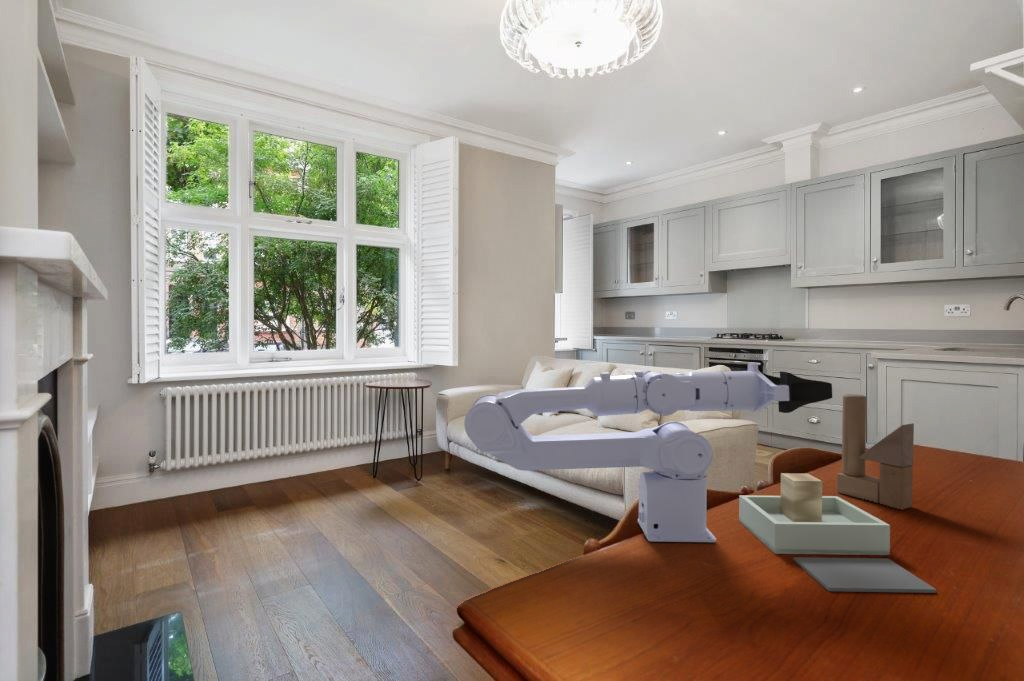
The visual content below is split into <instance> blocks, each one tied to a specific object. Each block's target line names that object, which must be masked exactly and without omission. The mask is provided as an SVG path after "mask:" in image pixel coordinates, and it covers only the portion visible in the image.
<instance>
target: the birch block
mask: <svg viewBox="0 0 1024 681" xmlns="http://www.w3.org/2000/svg"><path fill="white" fill-rule="evenodd" d="M780 496H781V502H780V513H782V514H783V515H785V516H786V517H787V518H789V519H790V520H791V521H793V522H822V496H823V481H822V480H821V479H819V478H817V477H815V476H813V475H812V474H809V473H802V472H801V473H790V472H789V473H788V472H785V473H783V472H781V473H780Z"/></svg>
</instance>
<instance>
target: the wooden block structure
mask: <svg viewBox="0 0 1024 681" xmlns="http://www.w3.org/2000/svg"><path fill="white" fill-rule="evenodd" d="M841 424H842V425H841V426H842V427H841V428H842V431H841V433H842V434H841V436H842V437H841V472H838V473H836V492H837V493H839V494H842V495H846V496H849V497H853V498H857V499H860V498H861V499H860V500H864V499H865V500H864V501H867V500H869V501H868V502H871V501H873V502H872V503H875V502H876V503H875V504H879V503H880V504H879V505H881V504H884V505H888V506H890V507H889V508H892V507H893V509H895V508H897V509H896V510H899V509H901V510H902V511H903V510H905V509H906V510H907V509H909V508H912V507H913V488H914V487H913V482H914V480H913V478H914V477H913V474H914V466H913V465H914V442H915V441H914V437H915V436H914V435H915V434H914V429H915V427H914V426H915V424H914V423H908V424H906V423H905V424H901V425H900V426H899V427H897V428H896V429H894V430H893V431H891V432H890V433H889V434H887V436H885V437H883V438H881V440H880V441H878V442H877V443H875V444H874V445H873V446H871V447H870V448H868V449H867V450H866V448H867V447H866V446H867V445H866V444H867V443H866V441H867V438H866V435H867V434H866V433H867V395H863V394H854V393H853V394H851V393H846V394H843V396H842V423H841ZM866 461H870V462H874V463H879V478H878V477H877V476H876V477H875V476H871V475H867V474H866ZM884 505H883V506H884ZM888 506H887V507H888ZM901 510H900V511H901Z"/></svg>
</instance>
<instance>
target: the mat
mask: <svg viewBox="0 0 1024 681" xmlns="http://www.w3.org/2000/svg"><path fill="white" fill-rule="evenodd" d="M793 562H795V563H796V564H797V565H798V566H800V568H801V569H803V570H804V571H805V572H806V573H808V575H809V576H810V577H812V578H813V579H814V580H815V581H817V582H818V584H820V586H822V587H823V588H824V589H825V590H827V591H828V592H845V593H846V592H847V593H848V592H851V593H854V592H855V593H856V592H857V593H859V592H860V593H864V592H865V593H912V594H913V593H919V594H921V593H924V594H925V593H926V594H929V593H930V594H932V593H933V594H936V593H937V589H936V588H935V587H933V586H932V585H931V584H928V582H925V581H924V580H922V579H921V578H919V577H918V576H916V575H915V574H914V573H911V572H910V571H909V570H907V569H905V568H904V567H903V566H901V565H899V564H897V563H896V562H894V561H893V560H891V559H890V558H879V557H878V558H871V557H870V558H867V557H866V558H865V557H862V558H861V557H802V556H801V557H796V556H795V557H793Z"/></svg>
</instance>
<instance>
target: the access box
mask: <svg viewBox="0 0 1024 681" xmlns="http://www.w3.org/2000/svg"><path fill="white" fill-rule="evenodd" d="M738 496H739V498H738V506H739V507H738V521H739V522H740V523H741V524H742V525H743V526H744V527H745V528H746V529H748V531H749V532H750V533H752V535H754V536H755V538H757V539H758V540H759V541H760V542H762V544H764V545H765V546H766V547H767V548H768V549H769V550H770V551H771V552H772V553H773V554H775V555H776V554H778V555H780V554H782V555H783V554H785V555H842V556H843V555H846V556H847V555H851V556H852V555H853V556H854V555H856V556H860V555H861V556H862V555H864V556H890V552H891V550H890V549H891V544H890V543H891V524H888V523H887V522H885V521H884V520H881V519H880V518H878V517H876V516H874V515H872V514H871V513H869V512H867V511H865V510H863V509H861V508H859V507H858V506H856V505H854V504H852V503H850V502H848V501H847V500H845V499H843V498H842V497H840V496H837V495H835V496H834V495H822V522H793V521H791V520H790V519H789V518H787V517H786V516H785V515H783V514H782V513H780V502H781V495H753V494H751V495H747V494H746V495H744V494H743V495H741V494H740V495H738Z"/></svg>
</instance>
